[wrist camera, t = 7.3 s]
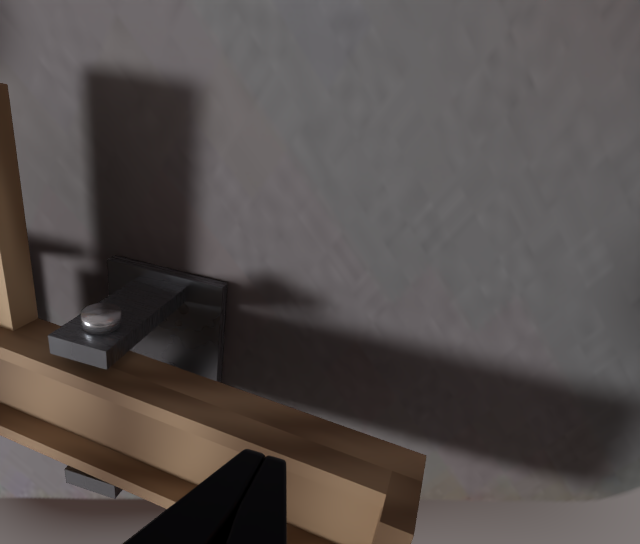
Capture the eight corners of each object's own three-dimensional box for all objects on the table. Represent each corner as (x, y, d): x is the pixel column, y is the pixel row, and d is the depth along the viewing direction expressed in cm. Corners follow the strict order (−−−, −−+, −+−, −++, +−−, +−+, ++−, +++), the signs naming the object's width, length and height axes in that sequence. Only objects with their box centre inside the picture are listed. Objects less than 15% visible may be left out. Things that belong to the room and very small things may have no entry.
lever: (513, 187, 12) (522, 217, 9) (396, 549, 18) (379, 635, 15) (-96, 63, 17) (-211, 57, 14) (-29, 375, 23) (-101, 415, 20)
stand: (227, 278, 22) (151, 350, 16) (218, 421, 25) (153, 521, 19) (114, 251, 22) (3, 309, 17) (121, 392, 26) (32, 480, 20)
